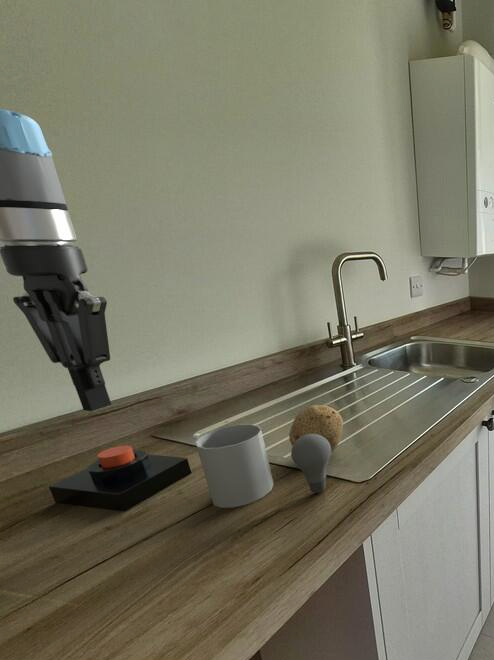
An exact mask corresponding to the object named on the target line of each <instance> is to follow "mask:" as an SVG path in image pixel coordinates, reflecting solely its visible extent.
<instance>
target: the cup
mask: <svg viewBox="0 0 494 660" xmlns="http://www.w3.org/2000/svg"><path fill="white" fill-rule="evenodd" d="M265 445H266V443H265V440H264V435H263V431H262V428H261V427H260V426H259V425H256V424H251V423H248V424H247V423H244V424H234V425H229V426H224V427H220V428H217V429H214V430H211V431H208V432H207V433H205V434H203V435H200V437H199V438H197V439H196V440H195V446H196V450H197V453H198V457H199V461H200V464H201V466H202V470H203V475H204V477H205V482H206V484H207V487H208V491H209V494H210V498H211V501H212V504H213V506H216V507H218V508H221V509H227V508H229V509H230V508H238V507H242V506H246V505H249V504H252V503H254V502H256V501H258V500H260V499H263V498H264V497H265V496H267V495H268V494H269V493H270V492H272V489H273V488H274V485H275V484H274V480H273V475H272V471H271V467H270V462H269V458H268V452H267V449H266V446H265Z"/></svg>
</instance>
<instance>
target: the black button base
mask: <svg viewBox="0 0 494 660" xmlns="http://www.w3.org/2000/svg"><path fill="white" fill-rule="evenodd" d="M132 450H133V453H134V456H135V459H134V460H132V461H130V462H128V463H126V464H123V465H119V466H116V467H109V468H102V467H101V464H100V462H99V459H97V460H95V461H93V462H92V463H90V464H89V465H88V466H87V468H86V469H84V470H82V471H79V472H77V473H75V474H73V475H71V476H68V477H66V478H64V479H61V480H60V481H57V482H54V483H52V484H50V485H49V486H48V489H49V491H50V493H51V495H52V498H53V500H54V502H55V504H61V505H68V506H69V505H70V506H75V507H83V508H92V509H100V510H107V511H108V510H109V511H116V512H123V513H125V512H127V511H129V510H130V509H132V508H134V507H136V506H138V505H139V504H141V503H142V502H144V501H146V500H148V499H150V498H151V497H153V496H155V495H156V494H158V493H160V492H162V491H163V490H166V489H167V488H169V487H171V486H172V485H174V484H175V483H177V482H179V481H181V480H183V479H184V478H186V477H188V476H189V475H191V474H192V470H191V466H190V463H189V460H188V459H189V458H187V457H180V456H171V455H170V456H169V455H158V454H148V453H147V452H146V451H145V450H142V449H141V450H140V449H132Z"/></svg>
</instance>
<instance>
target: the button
mask: <svg viewBox="0 0 494 660" xmlns="http://www.w3.org/2000/svg"><path fill="white" fill-rule="evenodd" d="M133 450H134V449H133V447H132V446H131V445H118V446H114V447H110V448H108V449H105V450H103V451H101V452H99V453H98V454H97V460H99V462H100V464H101V467H102V468H109V467H116V466H119V465H123V464H126V463H128V462H130V461H132V460H134V459H135V456H134V453H133Z"/></svg>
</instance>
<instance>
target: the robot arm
mask: <svg viewBox="0 0 494 660" xmlns="http://www.w3.org/2000/svg"><path fill="white" fill-rule="evenodd" d="M62 188H63V187H62V185H61V182H60V178H59V176H58V173H57V169H56V165H55V162H54V159H53V153H52V151H51V149H49V147H48V144H47V142H46V139H45V136H44V134H43V131H42V129H41V126H40V125H39V124H38V122H37V121H36V120H34V119H33V118H31V117H29V116H27V115H25V114H22V113H19V112H17V111H16V112H15V111H12V110H8V109H4V108H0V242H1V243H2V245H3V246H0V258H1V260H2V263H3V265H4V268H5V270H6V272H7V273H8V274H9V275H11V276H13V277H22V281H23V285H22V286H23V289H24V292H25V293H24V294H23V295H22V296H20V295H19V296H14V297H13V298H12V300H13V303H14V304H15V305H16V306H17V308H18V309H19V310H20V311H21V313H23V315H25V318H26V320H27V321H28V323H29V325H30V327H31V328H32V330H33V332H34V334H35V336H36V337H37V339H38V341H39V342H40V344H41V346H42V347H43V350H44V351H45V353H46V355H47V356H48V359H49V360H50V361H51V362H52V363H53V364H57V363H59V364H61V365H62V366H63V368H66V369H67V371H68V374H69V376H70V378H71V381H72V384H73V385H74V388H75V391H76V394H77V396H78V399H79V401H80V404H81V407H82V410H83V411H85V412H86V411H87V412H93V411H96V410H99V409H103V408H106V407H109V406H111V405H112V402H111V398H110V396H109V393H108V391H107V387H106V381H105V379H104V376H103V372H102V369H101V365H102V364H103V363H105V362H109V361H110V360H111V353H110V346H109V345H110V344H109V337H108V329H107V320H106V309H107V305H108V302H107V299H106V298H105V297H104V296H94V295H92V294H91V293H90V292H88V287H87V285H86V284H85V282H84V281H83V279H82V278H81V275H82V274H87V273H88V270H89V269H88V266H87V264H86V260H85V257H84V253H83V250H82V248H79V246H76V245H75V246H74V243H75V242H77V241H78V237H77V234H76V232H75V227H74V225H73V222H72V219H71V216H70V213H69V209H68V205H67V202H66V197H65V196H64V192H63V189H62ZM73 242H74V243H73Z"/></svg>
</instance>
